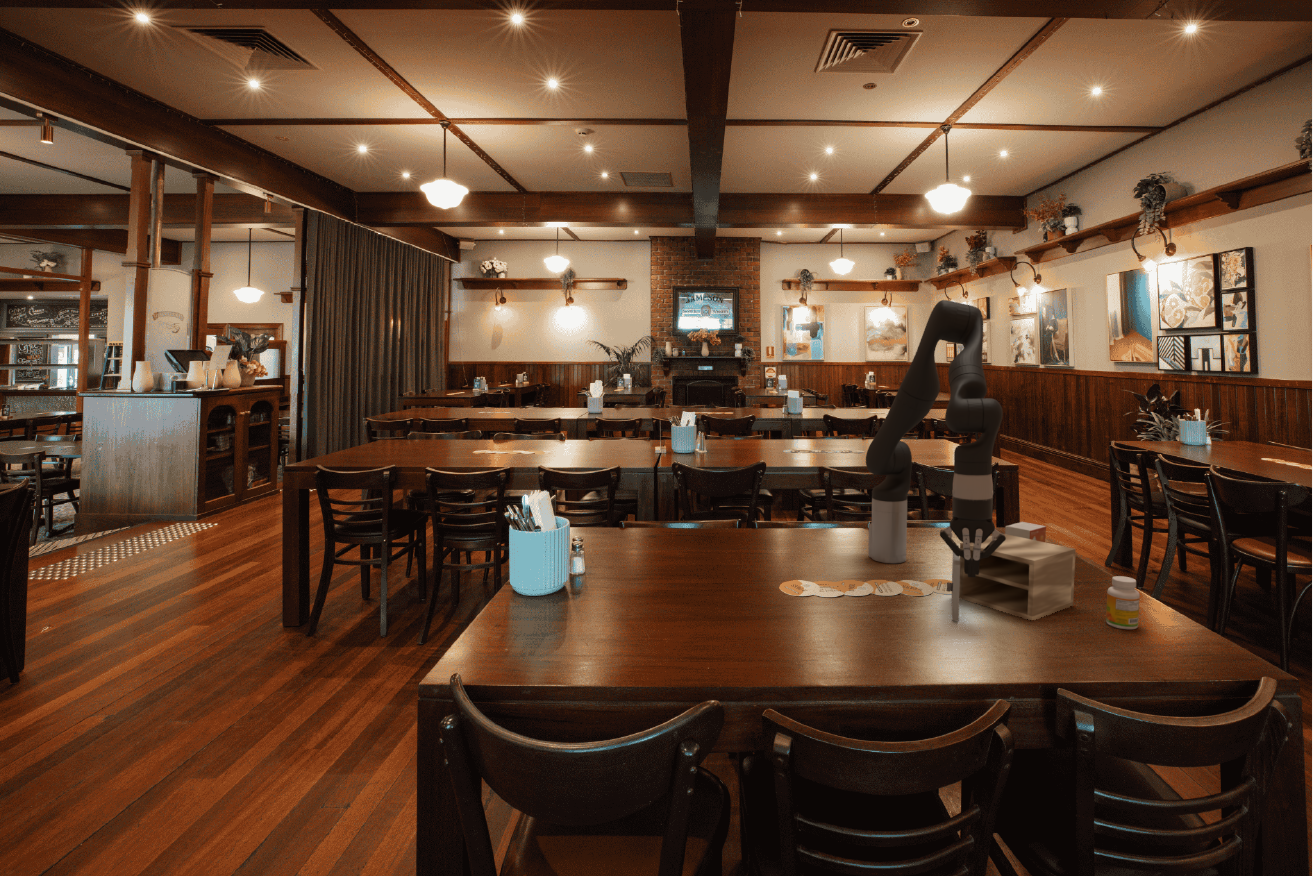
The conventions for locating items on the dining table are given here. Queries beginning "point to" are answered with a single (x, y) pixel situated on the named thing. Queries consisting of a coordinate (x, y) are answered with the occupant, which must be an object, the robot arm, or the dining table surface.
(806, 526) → the dining table surface
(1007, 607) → the cabinet
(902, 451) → the robot arm
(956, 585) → the door
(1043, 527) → the small box
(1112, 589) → the supplement bottle
